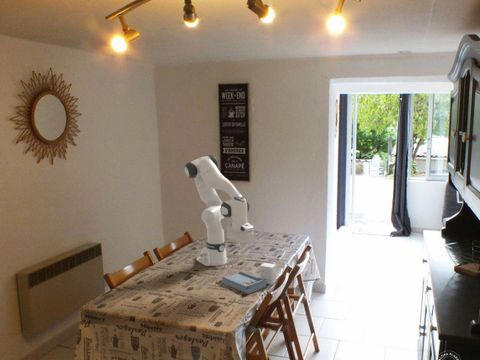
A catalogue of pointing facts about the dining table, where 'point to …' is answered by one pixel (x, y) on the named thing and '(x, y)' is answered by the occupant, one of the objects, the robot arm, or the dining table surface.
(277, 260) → the dining table surface
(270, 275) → the small box
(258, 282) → the blue tray
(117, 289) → the dining table surface
